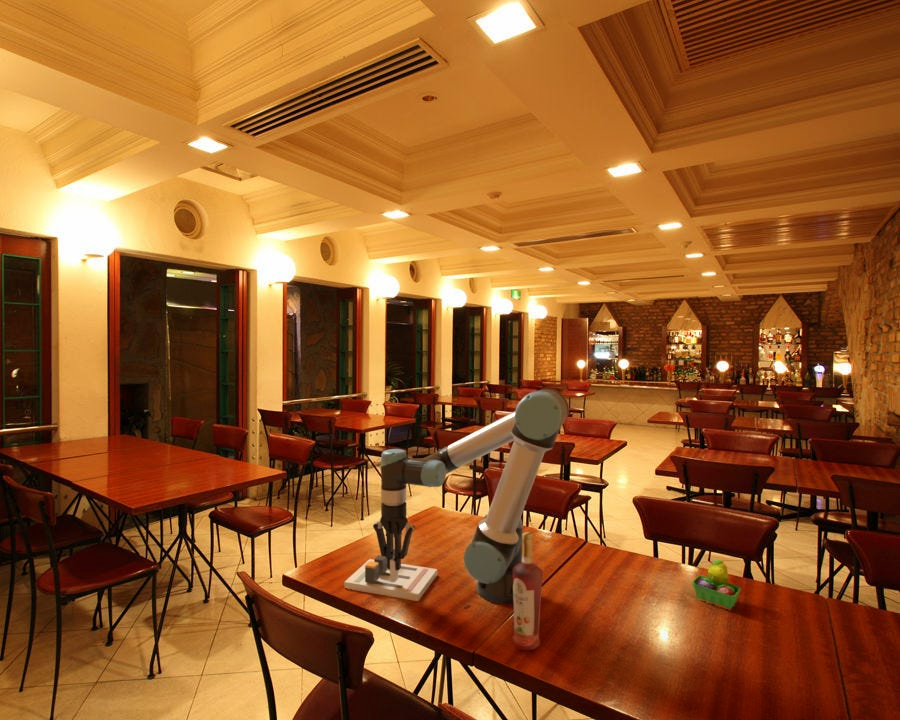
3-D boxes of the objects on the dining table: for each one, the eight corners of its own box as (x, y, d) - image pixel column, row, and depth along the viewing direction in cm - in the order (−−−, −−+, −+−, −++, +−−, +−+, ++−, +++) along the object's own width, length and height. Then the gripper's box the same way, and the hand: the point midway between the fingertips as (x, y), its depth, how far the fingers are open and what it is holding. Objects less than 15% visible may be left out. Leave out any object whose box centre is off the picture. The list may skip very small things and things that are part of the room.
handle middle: (386, 570, 156) (387, 556, 156) (382, 574, 153) (383, 560, 153) (378, 569, 157) (378, 555, 157) (374, 573, 154) (374, 559, 154)
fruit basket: (690, 599, 145) (691, 562, 145) (700, 589, 151) (701, 553, 151) (733, 614, 137) (734, 574, 137) (742, 603, 143) (743, 565, 143)
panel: (437, 575, 159) (437, 568, 159) (418, 601, 142) (418, 593, 142) (369, 564, 166) (369, 558, 166) (344, 588, 149) (344, 581, 149)
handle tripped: (378, 579, 150) (378, 562, 150) (374, 583, 148) (374, 566, 147) (369, 577, 151) (369, 561, 151) (365, 581, 148) (365, 565, 148)
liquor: (547, 646, 122) (548, 534, 121) (529, 659, 116) (531, 542, 116) (523, 633, 127) (524, 526, 126) (505, 645, 122) (506, 533, 121)
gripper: (418, 500, 148) (419, 577, 149) (379, 496, 152) (379, 571, 153) (409, 507, 141) (409, 588, 142) (368, 503, 145) (368, 582, 146)
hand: (394, 579), depth 147 cm, fingers closed
